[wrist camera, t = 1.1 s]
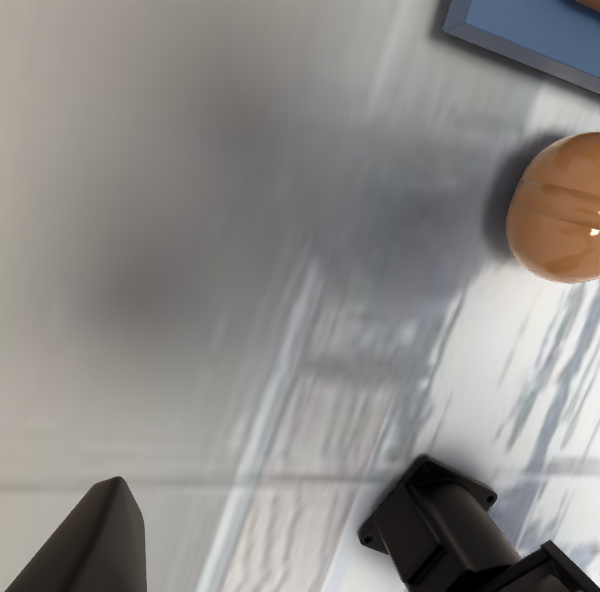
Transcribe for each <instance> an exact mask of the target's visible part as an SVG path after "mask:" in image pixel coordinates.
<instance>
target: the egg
mask: <svg viewBox="0 0 600 592" xmlns="http://www.w3.org/2000/svg"><path fill="white" fill-rule="evenodd" d="M505 232H506V238H507V242H508V245H509V248H510V250H511V252H512V254H513V255H514V257H515V258H516V260H517V261H518V262H519V263H520V264H521V265H522V266H523V267H524V268H525V269H526V270H528V271H530V272H531V273H533V274H534V275H536V276H538V277H540V278H543V279H546V280H549V281H552V282H556V283H569V284H573V283H582V282H588V281H591V280H595V279H598V278H600V131H595V132H582V133H578V134H573V135H569V136H567V137H564V138H562V139H560V140H557V141H555V142H554V143H552V144H550V145H549V146H547V147H546V148H544V149H543V150H542V151H541V152H540V153H538V154H537V155H536V156H535V157H534V158H533V159H532V161H531V162H530V163H529V164H528V166H527V167H526V168H525V170H524V172H523V174H522V176H521V178H520V180H519V182H518V185H517V187H516V190H515V192H514V195H513V198H512V200H511V203H510V205H509V209H508V212H507V216H506V224H505Z"/></svg>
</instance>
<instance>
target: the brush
mask: <svg viewBox="0 0 600 592" xmlns="http://www.w3.org/2000/svg"><path fill="white" fill-rule="evenodd" d="M442 31H443V32H445V33H446V34H448V35H451V36H453V37H456V38H459V39H461V40H464V41H466V42H469V43H471V44H474V45H476V46H479V47H481V48H484V49H486V50H489V51H491V52H494V53H496V54H499V55H501V56H504V57H506V58H509V59H511V60H514V61H516V62H519V63H521V64H524V65H526V66H529V67H531V68H534V69H536V70H539V71H541V72H544V73H546V74H549V75H551V76H554V77H556V78H559V79H562V80H564V81H567V82H569V83H572V84H574V85H577V86H579V87H582V88H584V89H587V90H589V91H592V92H594V93H597V94H599V95H600V0H452V1H451V4H450V7H449V10H448V14H447V17H446V20H445V23H444V26H443V29H442Z"/></svg>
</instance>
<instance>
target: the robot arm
mask: <svg viewBox="0 0 600 592" xmlns="http://www.w3.org/2000/svg"><path fill="white" fill-rule="evenodd" d="M424 465H425V466H424ZM423 466H424V467H423ZM496 500H497V494H496V493H495V492H494V491H493V489H492V488H490V487H488V486H486V485H484V484H482V483H480V482H478V481H476V480H474V479H472V478H470V477H468V476H466V475H464V474H462V473H460V472H458V471H456V470H454V469H452V468H450V467H448V466H446V465H444V464H442V463H440V462H438V461H436V460H434V459H432V458H430V457H428V456H422V457H420V458H419V459H418V460H417V461H416V462H415V463H414V464H413V466H412V467H411V468H410V469H409V471H408V472H407V473H406V474H405V475H404V477H403V478H402V479H401V480H400V482H399V483H398V484H397V485H396V487H395V488H394V489H393V490H392V492H391V493H390V494H389V495H388V497H387V498H386V499H385V500H384V502H383V503H382V504H381V505H380V506H379V508H378V509H377V510H376V511H375V513H374V514H373V515H372V516H371V518H370V519H369V520H368V521H367V523H366V524H365V525H364V526H363V528H362V529H361V530H360V531H359V533H358V538H359V540H360V542H361V544H362V545H363V546H366V547H369V548H371V549H374V550H377V551H379V552H382V553H385V554H387V555H390V557H391V559H392V561H393V564H394V566H395V568H396V570H397V572H398V574H399V576H400V579H401V581H402V582H403V583H405V586H406V588H407V590H408V592H600V588H599V587H598V586H597V585H596V584H595V583H594V582H593V581H592V580H591V579H590V578H589V577H588V576H587V575H586V574H585V573H584V572H583V571H582V570H581V569H580V568H579V567H578V566H577V565H576V564H575V563H574V562H573V561H571V560H570V559H569V558H568V557H567V556H566V555H565V554H564V553H563V552H562V551H561V550H560V549H559V548H558V547H557V546H556V545H555V544H554V543H553V542H552V541H551V540H549V541H547V542H545V543H544V544H542V545H540V546H541V548H540V549H538V550H536V551H535V552H533V553H532V554H530V555H528V556H527V557H525V558H523V559H522V558H521V557H520V556H519V554H518V553H517V552H516V550H515V549H514V548H513V546H512V545H511V544H510V543H509V541H508V540H507V539H506V537H505V536H504V535H503V533H502V532H501V531H500V529H499V528H498V527H497V526H496V524H495V523H494V522H493V520H492V519H491V518H490V516H489V515H488V514H487V511H488V510H489V509H490V507H491V506H492V505H493V504H494V503H495V501H496ZM5 592H147V580H146V553H145V528H144V520H143V516H142V513H141V511H140V509H139V507H138V505H137V503H136V501H135V499H134V497H133V495H132V493H131V491H130V489H129V487H128V485H127V483H126V481H125V480H124V479H123V478H122V477H119V476H117V477H114V478H111V479H108V480H105V481H102V482H99V483H96V484H95V485H93V486H92V488H91V489H90V490H89V491H88V492H87V493H86V495H85V496H84V497H83V498H82V499H81V501H80V502H79V503H78V504H77V505H76V507H75V508H74V509H73V510H72V511H71V513H70V514H69V515H68V516H67V517H66V519H65V520H64V521H63V522H62V523H61V525H60V526H59V527H58V528H57V529H56V531H55V532H54V533H53V534H52V535H51V537H50V538H49V539H48V540H47V541H46V543H45V544H44V545H43V546H42V547H41V549H40V550H39V551H38V552H37V553H36V555H35V556H34V557H33V558H32V559H31V561H30V562H29V563H28V564H27V565H26V567H25V568H24V569H23V570H22V571H21V573H20V574H19V575H18V576H17V577H16V579H15V580H14V581H13V582H12V583H11V585H10V586H9V587H8V588H7V589H6V591H5Z"/></svg>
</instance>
